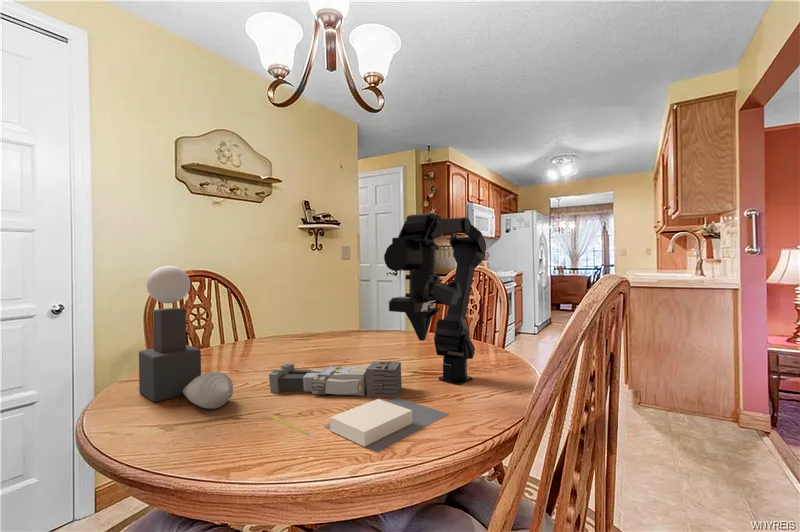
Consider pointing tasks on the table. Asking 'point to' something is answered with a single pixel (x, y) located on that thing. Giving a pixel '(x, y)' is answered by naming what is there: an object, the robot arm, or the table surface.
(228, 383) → the seashell
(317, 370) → the toy figure
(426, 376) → the table surface
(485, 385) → the table surface
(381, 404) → the cream rectangular block
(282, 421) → the pencil
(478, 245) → the robot arm
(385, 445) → the mat
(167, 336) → the sculpture
